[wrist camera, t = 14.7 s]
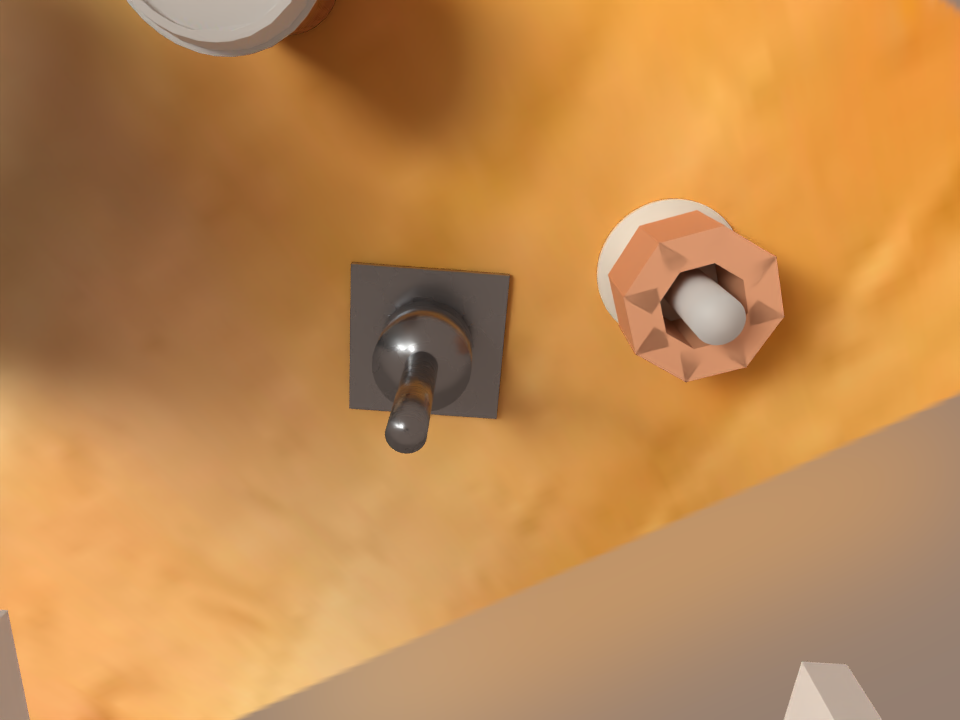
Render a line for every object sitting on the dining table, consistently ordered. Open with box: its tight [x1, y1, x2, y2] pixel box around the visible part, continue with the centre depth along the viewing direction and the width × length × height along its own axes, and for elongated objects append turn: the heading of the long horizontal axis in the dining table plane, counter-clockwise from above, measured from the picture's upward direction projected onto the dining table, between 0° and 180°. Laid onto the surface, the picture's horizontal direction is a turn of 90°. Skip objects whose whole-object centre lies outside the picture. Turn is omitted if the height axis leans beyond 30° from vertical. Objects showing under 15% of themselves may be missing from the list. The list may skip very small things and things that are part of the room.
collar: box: [608, 210, 784, 382], centre depth 39 cm, size 8×8×5 cm
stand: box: [349, 262, 510, 453], centre depth 40 cm, size 10×10×14 cm
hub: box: [597, 199, 746, 345], centre depth 40 cm, size 9×9×10 cm
